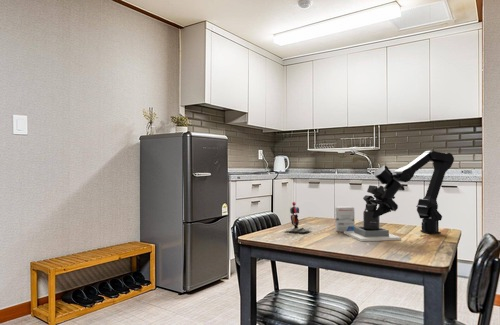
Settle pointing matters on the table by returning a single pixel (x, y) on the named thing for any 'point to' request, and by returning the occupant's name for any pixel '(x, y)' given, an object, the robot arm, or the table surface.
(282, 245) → the table surface
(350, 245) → the table surface
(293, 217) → the statue
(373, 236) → the pocket plate
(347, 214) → the ink box
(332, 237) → the table surface
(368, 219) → the supplement bottle
